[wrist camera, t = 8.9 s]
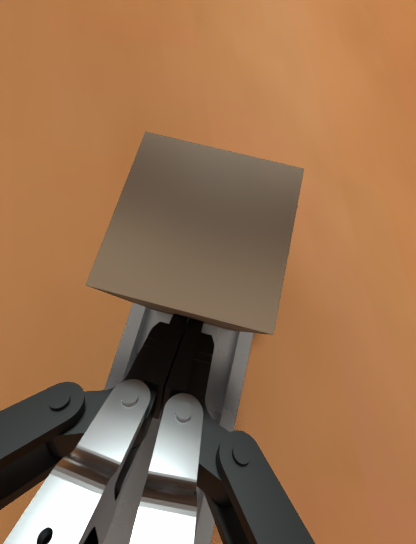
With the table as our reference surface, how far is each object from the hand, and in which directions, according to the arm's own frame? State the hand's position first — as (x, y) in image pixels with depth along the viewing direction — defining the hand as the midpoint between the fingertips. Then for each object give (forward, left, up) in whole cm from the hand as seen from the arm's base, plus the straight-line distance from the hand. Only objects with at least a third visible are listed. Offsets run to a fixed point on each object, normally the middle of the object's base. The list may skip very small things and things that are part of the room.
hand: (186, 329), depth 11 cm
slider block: (+2, +2, -3) cm, 5 cm away
